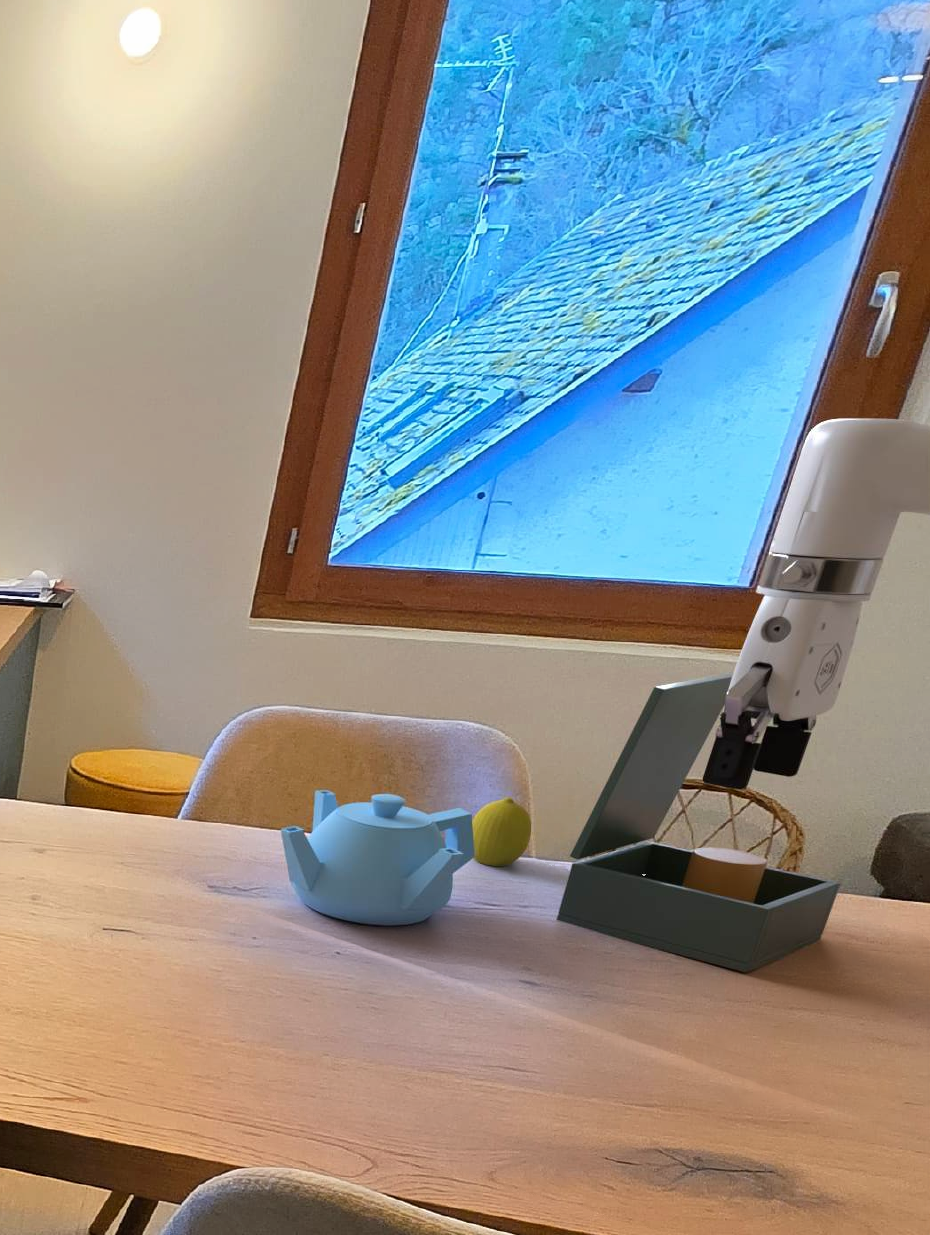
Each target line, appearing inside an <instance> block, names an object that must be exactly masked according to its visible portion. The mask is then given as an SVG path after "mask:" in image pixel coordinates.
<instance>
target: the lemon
mask: <svg viewBox="0 0 930 1235" xmlns="http://www.w3.org/2000/svg"><path fill="white" fill-rule="evenodd" d="M472 826H473V839H474V851H475V857H474V858H473V860H475V861H476V862H477V863H480V864H483V865H486V866H489V867H490V866H491V867H505V866H509V865H511V864H513V863H514V862H516V861H517V860H518V859H520V858H521V857H522V856H523V854H524V852H525V851H526V850H527V847H528V846H529V844H530V843H529V842H530V839H531V834H532V818H531V816H530V814H529V812H528V811H527V809H526V808H525V807H524V806H523V805H522V804H521V803H518V802H517V801H515V800H514V799H513V798H512V797H507V796H506V797H504V798H503V799H499V800H494V801H492V802H489V803H487V804H485V805H484V806H483V807H481V808H480V809H479V810H478V811H477V813H476V814H475V816H474V817H473V818H472Z"/></svg>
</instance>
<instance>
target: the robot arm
mask: <svg viewBox="0 0 930 1235" xmlns="http://www.w3.org/2000/svg"><path fill="white" fill-rule="evenodd" d="M801 448H802V449H801V452H800V455H799V458H798V461H797V464H796V467H795V470H794V473H793V476H792V479H791V483H790V486H789V489H788V492H787V495H786V498H785V502H784V504H783V508H782V510H781V513H780V517H779V520H778V523H777V526H776V529H775V532H774V535H773V538H772V541H771V544H770V547H769V552H768V553H767V556H766V558H765V563H764V566H763V569H762V572H761V575H760V578H759V581H758V585H757V587H756V589H755V593H756V594H759V595H763V598H762V600H761V602H760V604H759V607H758V609H757V611H756V614H755V616H754V618H753V620H752V623H751V626H750V628H749V629H748V633H747V635H746V638H745V640H744V643H743V645H742V648H741V651H740V654H739V656H738V659H737V661H736V664H735V667H734V670H733V672H732V673H733V676H732V679H731V682H730V686H729V689H728V692H727V694H726V698H725V705H724V707H723V711H721V712H720V714H719V716H720V717H719V720H720V724H719V726H718V727H717V729H716V731H715V739H714V742H713V745H712V748H711V752H710V754H709V757H708V760H707V763H706V767H705V768H704V769H705V770H704V773H703V775H702V782H703V783H704V784H706V785H711V786H712V785H713V786H717V787H723V788H728V789H734V790H739V791H740V790H744V789H746V788H747V787H748V786H749V783H750V779H751V777H752V774H753V771H755V772H758V773H759V772H760V773H765V774H771V775H777V776H782V777H786V778H787V777H788V778H791V777H795V776H797V775H798V773H799V770H800V767H801V764H802V761H803V758H804V756H805V752H806V750H807V747H808V745H809V742H810V739H811V736H812V731H813V730H814V728H815V726H816V725H817V716H820V715H822V714H824V713H827V712H828V711H830V710H831V709H832V708H833V707H834V706H835V704H836V701H837V698H838V696H839V692H840V689H841V686H842V682H843V680H844V676H845V672H846V670H847V666H848V662H849V660H850V656H851V653H852V649H853V645H854V642H855V638H856V634H857V630H858V626H859V622H860V617H861V611H862V606H863V602H868V601H870V600H871V596H872V593H873V590H874V589H875V585H876V582H877V579H878V577H879V574H880V571H881V569H882V565H883V563H884V558H885V555H886V554H887V552H888V548H889V545H890V543H891V540H892V537H893V535H894V532H895V529H896V526H897V523H898V521H899V517H900V515H901V514H902V513H915V514H921V515H929V516H930V422H929V423H919V422H917V421H915V420H909V419H897V418H896V419H895V418H835V419H829V420H825V421H822V422H820V423H818V424H816V425H815V426H814V427H813V428H811V430H810V432H808V434H807V436H806V437H805V441H804V443H803V445H802V447H801ZM752 719H753V720H755V721H754V722H753V723H752ZM771 721H772V725H773V726H772V725H769V723H770V722H771ZM761 736H762V739H761V741H760V742H758V741H759V739H760V737H761Z"/></svg>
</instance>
